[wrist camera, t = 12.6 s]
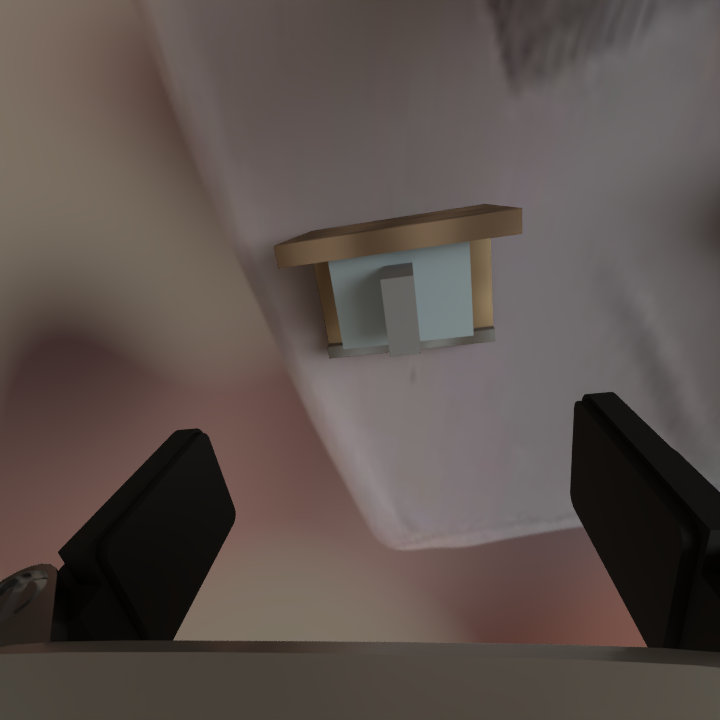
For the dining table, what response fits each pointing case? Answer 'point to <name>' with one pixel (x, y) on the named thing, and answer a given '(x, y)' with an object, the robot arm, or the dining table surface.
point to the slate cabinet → (404, 297)
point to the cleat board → (400, 236)
